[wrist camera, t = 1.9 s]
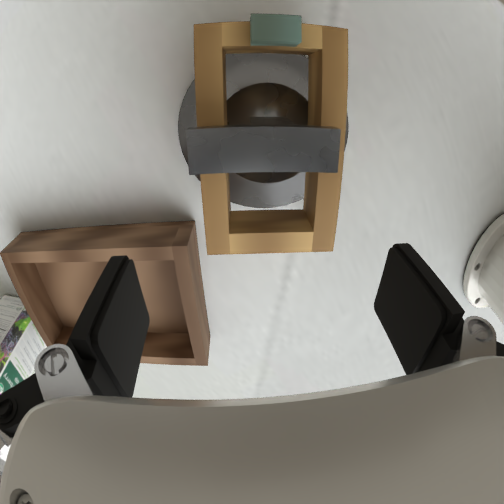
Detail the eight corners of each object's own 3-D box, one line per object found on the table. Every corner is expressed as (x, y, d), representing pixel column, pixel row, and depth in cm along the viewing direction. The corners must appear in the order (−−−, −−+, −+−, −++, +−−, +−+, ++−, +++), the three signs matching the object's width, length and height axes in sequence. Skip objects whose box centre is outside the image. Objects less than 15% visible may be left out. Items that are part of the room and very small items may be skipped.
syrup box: (53, 336, 28) (8, 438, 16) (19, 328, 27) (-27, 418, 15) (37, 299, 25) (-24, 407, 13) (2, 292, 25) (-58, 386, 12)
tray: (194, 220, 21) (187, 245, 18) (210, 336, 27) (207, 365, 24) (21, 232, 21) (-1, 253, 18) (62, 328, 27) (50, 351, 24)
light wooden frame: (330, 37, 13) (359, 24, 9) (320, 227, 19) (340, 266, 15) (202, 35, 13) (188, 17, 9) (211, 229, 19) (204, 270, 15)
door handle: (348, 53, 15) (400, 42, 9) (339, 205, 21) (375, 256, 15) (175, 52, 15) (140, 35, 9) (186, 208, 21) (165, 263, 15)
